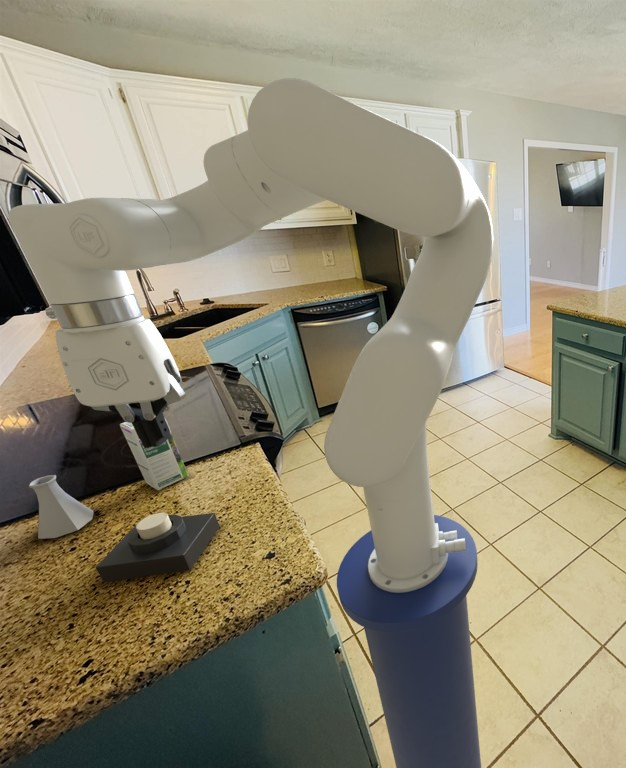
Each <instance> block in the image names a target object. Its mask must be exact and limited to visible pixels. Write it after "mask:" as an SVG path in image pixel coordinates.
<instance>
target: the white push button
mask: <svg viewBox="0 0 626 768" xmlns="http://www.w3.org/2000/svg"><path fill="white" fill-rule="evenodd" d="M168 515H169V514H168V513H166V512H158V513H157V512H156V513H153V514H150V515H148V516H146V517H144V518H143V519H141V520H139V521H138V522H139V523H138V522H137V523H138V524H137V523H136V524H137V525H136V524H135V525H136V529H137V531H138V533H139V535H140V537H141V539H144V540H146V539H152V538H154V537H157V536H160V535H162V534H163V533H165V532H167V531H168V530H170V528H171V527H172V523H171V521H170V519H169V517H168Z"/></svg>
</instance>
